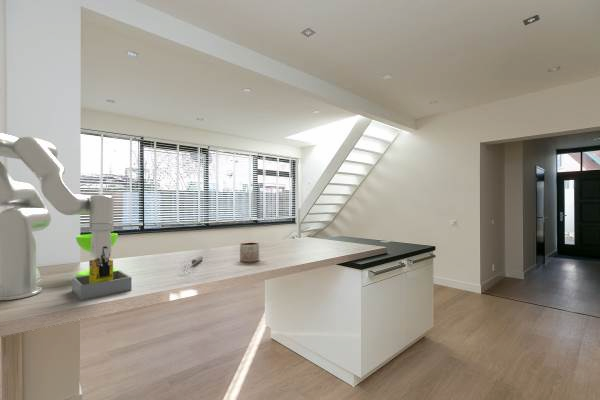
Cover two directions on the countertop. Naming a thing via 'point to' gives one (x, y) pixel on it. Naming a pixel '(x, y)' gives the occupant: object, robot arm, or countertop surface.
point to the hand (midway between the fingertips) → (101, 274)
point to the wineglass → (85, 244)
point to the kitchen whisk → (193, 262)
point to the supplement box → (95, 272)
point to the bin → (100, 286)
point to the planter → (249, 252)
